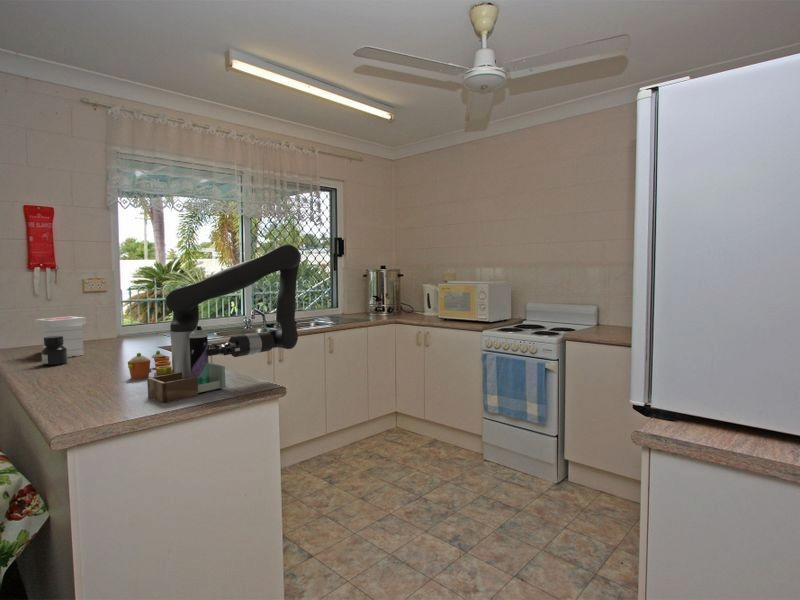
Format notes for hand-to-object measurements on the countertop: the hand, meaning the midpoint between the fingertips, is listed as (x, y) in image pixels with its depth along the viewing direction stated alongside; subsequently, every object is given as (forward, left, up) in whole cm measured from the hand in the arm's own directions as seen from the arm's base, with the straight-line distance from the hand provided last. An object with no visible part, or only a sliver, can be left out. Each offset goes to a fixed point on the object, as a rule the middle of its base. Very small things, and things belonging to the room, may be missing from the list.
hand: (200, 351), depth 152 cm
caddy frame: (0, -9, -13) cm, 16 cm away
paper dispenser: (-124, -10, -13) cm, 125 cm away
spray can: (0, -1, -12) cm, 12 cm away
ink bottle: (-95, -19, -13) cm, 98 cm away
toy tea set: (-43, +1, -13) cm, 45 cm away
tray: (0, -1, -13) cm, 13 cm away
